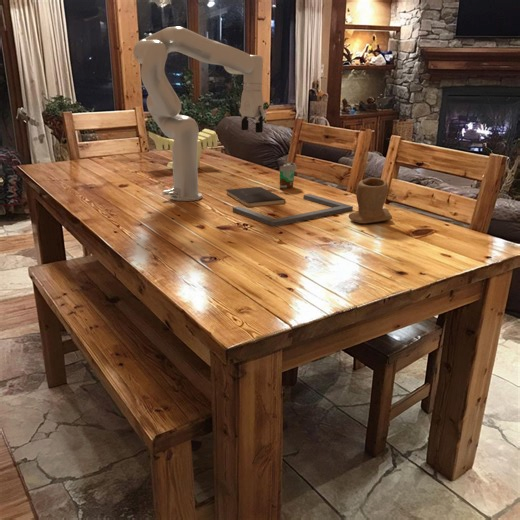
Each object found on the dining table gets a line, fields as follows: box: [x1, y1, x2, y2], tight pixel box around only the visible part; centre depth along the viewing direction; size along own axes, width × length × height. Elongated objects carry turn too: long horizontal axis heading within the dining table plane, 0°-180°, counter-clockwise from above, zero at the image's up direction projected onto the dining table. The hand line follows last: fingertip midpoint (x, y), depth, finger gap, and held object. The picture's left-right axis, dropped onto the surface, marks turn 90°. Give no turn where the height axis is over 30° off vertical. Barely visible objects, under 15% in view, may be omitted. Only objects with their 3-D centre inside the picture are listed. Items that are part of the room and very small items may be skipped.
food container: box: [279, 161, 297, 190], centre depth 240 cm, size 12×6×10 cm, turn 168°
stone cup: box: [348, 177, 393, 224], centre depth 190 cm, size 15×12×15 cm
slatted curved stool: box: [148, 128, 218, 170], centre depth 279 cm, size 30×16×18 cm, turn 117°
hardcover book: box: [225, 186, 286, 208], centre depth 222 cm, size 16×23×2 cm
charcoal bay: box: [232, 193, 354, 227], centre depth 204 cm, size 37×24×2 cm, turn 127°
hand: (251, 131), depth 230 cm, fingers open, 9 cm apart
